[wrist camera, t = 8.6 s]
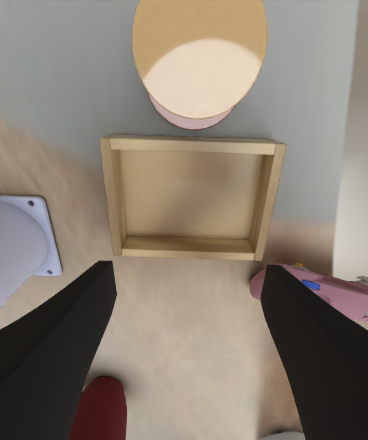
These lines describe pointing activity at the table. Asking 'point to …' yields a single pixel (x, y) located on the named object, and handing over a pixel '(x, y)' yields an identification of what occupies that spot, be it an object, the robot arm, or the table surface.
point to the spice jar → (198, 52)
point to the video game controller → (326, 290)
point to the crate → (190, 195)
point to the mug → (101, 412)
